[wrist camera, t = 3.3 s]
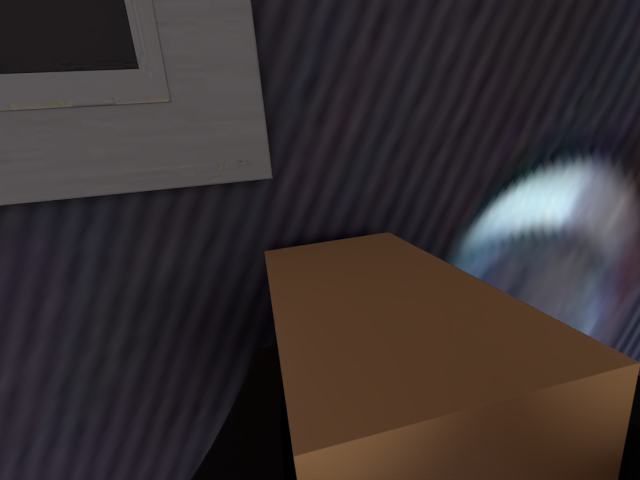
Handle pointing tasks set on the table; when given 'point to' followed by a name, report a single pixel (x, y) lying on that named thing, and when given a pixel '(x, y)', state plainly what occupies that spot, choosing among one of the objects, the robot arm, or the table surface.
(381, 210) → the table surface
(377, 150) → the table surface
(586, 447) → the plug
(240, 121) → the electrical outlet
